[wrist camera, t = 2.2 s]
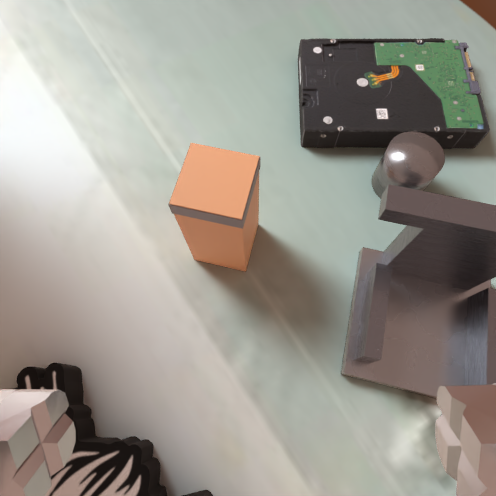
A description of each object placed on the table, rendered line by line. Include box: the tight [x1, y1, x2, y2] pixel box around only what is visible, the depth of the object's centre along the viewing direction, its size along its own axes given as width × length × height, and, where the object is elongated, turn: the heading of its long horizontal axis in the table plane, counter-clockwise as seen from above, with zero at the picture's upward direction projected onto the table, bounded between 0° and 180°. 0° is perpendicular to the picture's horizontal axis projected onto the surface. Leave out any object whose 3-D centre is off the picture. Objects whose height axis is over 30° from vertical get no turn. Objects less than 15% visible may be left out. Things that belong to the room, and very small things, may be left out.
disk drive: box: [298, 38, 489, 149], centre depth 33 cm, size 10×3×15 cm
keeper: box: [341, 184, 496, 398], centre depth 22 cm, size 9×10×10 cm
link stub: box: [372, 131, 445, 198], centre depth 29 cm, size 4×4×4 cm
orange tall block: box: [169, 143, 260, 272], centre depth 25 cm, size 4×4×9 cm
